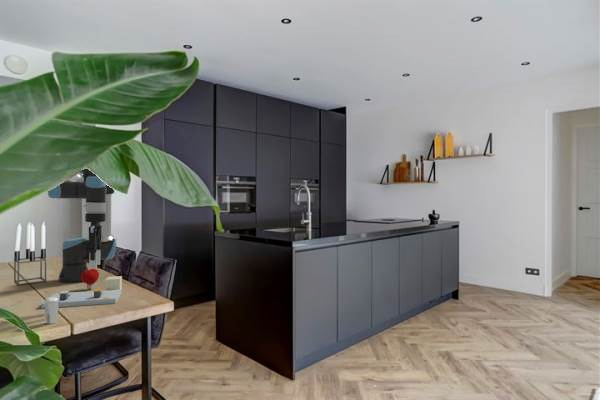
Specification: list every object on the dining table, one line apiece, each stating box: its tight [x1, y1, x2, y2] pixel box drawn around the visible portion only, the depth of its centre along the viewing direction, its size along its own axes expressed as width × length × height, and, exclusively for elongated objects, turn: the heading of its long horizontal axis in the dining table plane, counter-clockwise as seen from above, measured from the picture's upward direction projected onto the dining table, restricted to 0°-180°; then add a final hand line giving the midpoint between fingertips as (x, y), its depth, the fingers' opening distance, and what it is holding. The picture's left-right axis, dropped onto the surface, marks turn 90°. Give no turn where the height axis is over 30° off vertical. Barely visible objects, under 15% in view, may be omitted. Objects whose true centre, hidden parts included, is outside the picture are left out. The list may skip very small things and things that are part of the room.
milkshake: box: [43, 296, 60, 325], centre depth 133 cm, size 5×5×10 cm
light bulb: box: [81, 268, 100, 291], centre depth 182 cm, size 9×7×10 cm
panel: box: [40, 289, 122, 309], centre depth 162 cm, size 17×28×2 cm, turn 109°
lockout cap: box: [104, 275, 123, 291], centre depth 178 cm, size 7×6×7 cm
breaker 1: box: [59, 290, 69, 300], centre depth 156 cm, size 3×2×3 cm
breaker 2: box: [93, 288, 103, 298], centre depth 161 cm, size 3×2×3 cm
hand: (94, 266), depth 154 cm, fingers open, 6 cm apart
